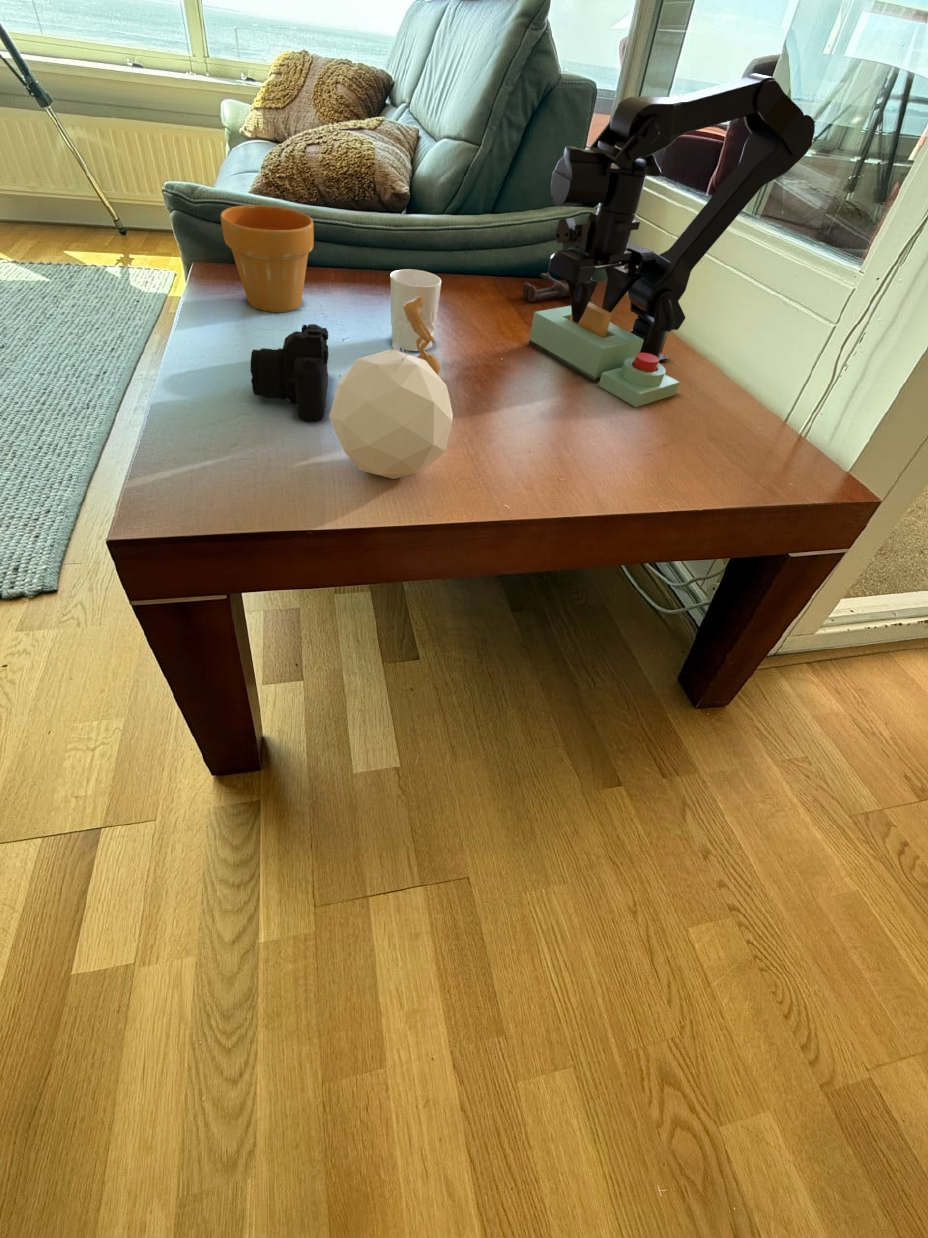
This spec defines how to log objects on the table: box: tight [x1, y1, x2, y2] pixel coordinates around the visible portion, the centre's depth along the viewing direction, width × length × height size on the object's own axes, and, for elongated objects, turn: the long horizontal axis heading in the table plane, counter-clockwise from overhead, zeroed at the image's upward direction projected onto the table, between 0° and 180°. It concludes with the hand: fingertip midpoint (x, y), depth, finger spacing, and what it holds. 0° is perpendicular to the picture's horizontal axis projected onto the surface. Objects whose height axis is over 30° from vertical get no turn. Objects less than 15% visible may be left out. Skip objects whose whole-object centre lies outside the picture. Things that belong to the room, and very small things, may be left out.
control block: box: [598, 357, 681, 408], centre depth 100 cm, size 10×8×4 cm
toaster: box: [527, 305, 644, 384], centre depth 106 cm, size 10×16×6 cm, turn 38°
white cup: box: [389, 268, 443, 352], centre depth 101 cm, size 8×8×10 cm
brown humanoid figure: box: [522, 271, 596, 305], centre depth 128 cm, size 18×4×14 cm
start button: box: [633, 353, 660, 372], centre depth 98 cm, size 4×4×2 cm
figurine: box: [403, 296, 441, 376], centre depth 90 cm, size 8×6×12 cm
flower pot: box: [220, 204, 315, 313], centre depth 105 cm, size 14×14×13 cm
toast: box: [570, 302, 613, 338], centre depth 105 cm, size 2×7×8 cm, turn 38°
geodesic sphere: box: [328, 342, 454, 480], centre depth 72 cm, size 15×14×14 cm
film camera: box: [250, 323, 329, 423], centre depth 83 cm, size 15×10×9 cm, turn 5°
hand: (589, 319), depth 104 cm, fingers open, 6 cm apart
